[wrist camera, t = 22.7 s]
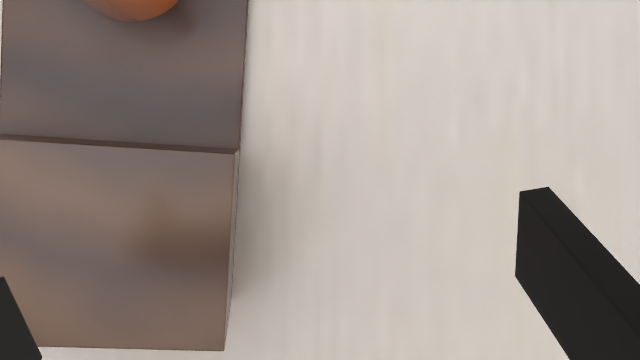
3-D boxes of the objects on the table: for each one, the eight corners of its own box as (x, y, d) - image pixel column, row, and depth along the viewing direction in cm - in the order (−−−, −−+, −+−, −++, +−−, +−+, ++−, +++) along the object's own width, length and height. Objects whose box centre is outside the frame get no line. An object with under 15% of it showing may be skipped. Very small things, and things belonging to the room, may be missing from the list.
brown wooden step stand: (13, -134, 32) (-71, -228, 24) (254, -107, 34) (254, -187, 25) (0, 291, 34) (-83, 343, 26) (231, 300, 36) (224, 351, 27)
